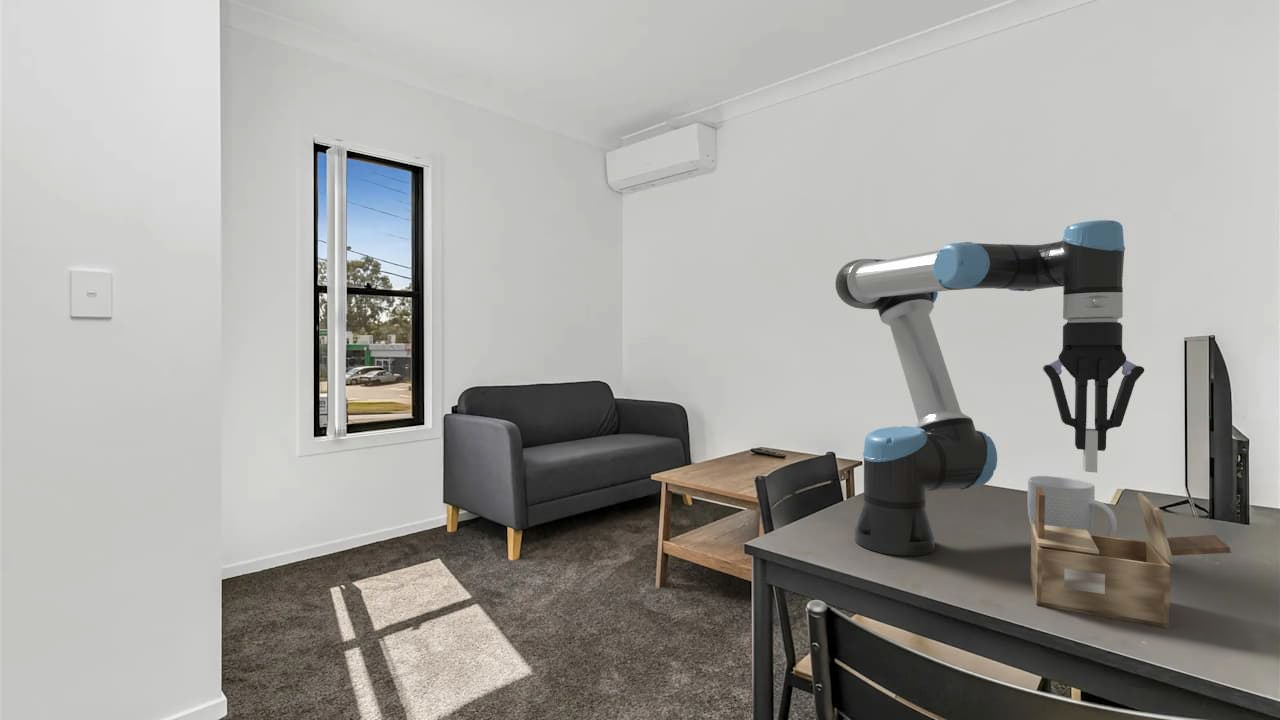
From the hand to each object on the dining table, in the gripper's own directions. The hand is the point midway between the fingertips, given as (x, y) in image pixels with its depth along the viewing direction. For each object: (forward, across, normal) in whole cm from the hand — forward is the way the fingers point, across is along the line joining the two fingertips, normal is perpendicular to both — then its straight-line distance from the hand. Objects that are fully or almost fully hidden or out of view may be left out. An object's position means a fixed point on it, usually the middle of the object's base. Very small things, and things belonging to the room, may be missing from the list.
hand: (1089, 470), depth 96 cm
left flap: (+12, -3, 0) cm, 12 cm away
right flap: (+8, +8, 0) cm, 11 cm away
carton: (+21, +1, 0) cm, 21 cm away
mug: (+21, 0, +28) cm, 35 cm away
